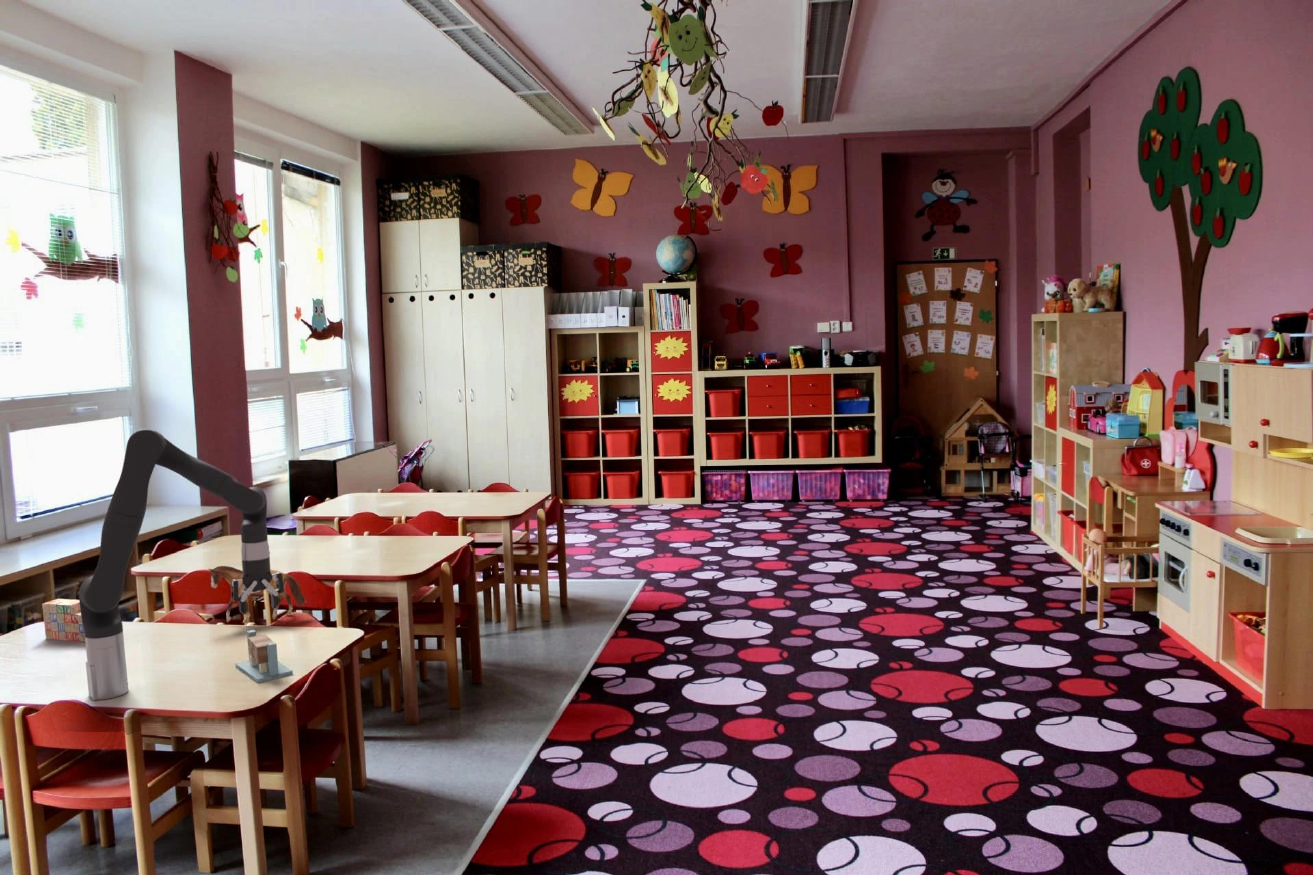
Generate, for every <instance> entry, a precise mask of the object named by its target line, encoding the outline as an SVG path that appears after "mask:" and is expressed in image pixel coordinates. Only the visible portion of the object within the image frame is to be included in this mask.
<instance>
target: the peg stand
mask: <svg viewBox="0 0 1313 875" xmlns="http://www.w3.org/2000/svg"><path fill="white" fill-rule="evenodd" d="M253 636H257V631H256V630H254V629H250V630H247V631H246V638H247V640H248V637H253ZM247 647H248V649H247V650H248V652H247V653H248V660H245V661H241V662H237V663H235V665H234V666H235V668H236V669H238V670H239V671H240V672H242V673H244V675H246V676H247V677H249V679H252V680H253V681H254V682H256V683H263V682H266V681H270V680H275V679H278V678H283V677H287V676H290V675H293V674H294V672H293V670H292V669H291V668H289V667H287V666H286V665H285V664H284V663H281V662H280V661H278V648H277V642H275V641H273V642H272V643H268V644H267V652H268V663H263V664H258V663H257V662H256V661H255V660H254V659H253V658H252V656H251V655H250V654H249V645H248V644H247Z"/></svg>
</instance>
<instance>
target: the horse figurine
mask: <svg viewBox="0 0 1313 875" xmlns="http://www.w3.org/2000/svg"><path fill="white" fill-rule="evenodd" d="M207 570H209V571H210V572H209V573H210V579H211V582H210V584H211V585H210V586H211V588H213V589H216V588H217V587H218V584H219V582H220V581H221V580H222V579H224V580H225V581H226V582H227V583H228V585H229V586H231V581H232V579H235V580H239V579H242V577H243V571H242V570H241V569H238V568H235V567H233V566H228V565H227V566H226V565H220V566H218V565H217V566H216V567H214V568H207ZM270 572H271V574H274V573H276V572H280V573H282V577H283V585H284V592H283V593H280V594H278V606H276V608H275V609H273V610H272V619H273V620H275V619H276V618H277V616H278V613H277V612H278V610H279V607H280V605H281V603H282V602H283V601H284V599H285V601H286V602H287V604H288V611H287V612H286V614H285V615H286V616H289V615H288V614H291V613H292V614H293V609H294V607H293V605H292V599H291V598H292V597H291V595H292V596H293V599H294V601H295V603H296V604H297V605H298V607H299V608H301V607H302V606H304V604H306V603H308V601H307V600H306V599H305V597H304V595H303V592H302V589H301V585H300V583H299V582H298V580H297V579H296V578H295V577H293V576H292V575H289V574H288V573H284V572H282V571H279V570H275V569H270ZM287 583H288V584H289V590H290V593H291V595H289V594H288V592H287V591H286V584H287ZM269 584H270V585H271V586H272V587H273V588H274V589H275V590H276V589H277V585H276V580H274V578H272V580H271V582H270V583H269ZM244 587H245V585H244V584H243V583H241V585H240V587H238V596H240V594H241V592H242V590H243V588H244ZM265 590H266V592H267V593H268V594H269V595H270V596H271V595H272V594H271V593H270V592H269V591H268V590H267V589H265ZM260 592H261V591H260V590H259V591H257V592H252V591H251V593H250V594H256V593H260ZM235 602H236V601H234V600H232V599H231V598H230V601H229V602H228V604H227V609H226V614H225V615H226V623H229V622H230V621H231V620H232V617H231V616H230V613H231V608H232V607H233V605H234V603H235ZM245 602H246V616H245V618H244V619H243V621H242V624H246V623H248V622H249V618H250V617H251V613H250V610H249V604H248V599H247V598H246V600H245ZM292 614H291V615H292Z"/></svg>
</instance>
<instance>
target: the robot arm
mask: <svg viewBox="0 0 1313 875" xmlns="http://www.w3.org/2000/svg"><path fill="white" fill-rule="evenodd" d="M156 465H157V466H158V467H162V468H165V469H168V470H169V471H171V472H174V473H175V474H178V475H180V476H181V477H183V478H184V479H186V480H187V481H189V482H190V483H192V484H193V485H196V487H198V488H200V489H202V490H204V491H206V492H208V493H210V494H211V495H213V496H215V497H217V498H220V499H222V500H223V501H224V502H226V503H227V504H229V505H230V506H231V507H233V508H235V509H236V510H238V511H239V512H241V513H242V514H241V515H242V517H241V518H242V523H241V524H240V525H241V526H240V537H241V538H240V539H241V547H240V548H241V549H240V552H241V553H240V554H241V567H242V570H241V571H243V577H242V579H239V580H235V579H232V581H231V585H230V593H231V596H230V600H231V599H232V600H234V601H235V602H238V608H239V613H241V614H242V615H247V612H246V602H245V600H246V599H247V598H248V596H250V594H252V593H251V591H252V592H256V593H258V592H257V591H259V590H260V592H263V591H265V590H266V589H267V590H268V591H269V592H270V593H271V594H272V595H270V602H271V605H270V606H271V609H273V610H274V609H275V608H276V606H278V594H280V593H283V592H284V585H283V577H282V573H283V572H282V573H280V572H281V571H279V572H276V573H274V574H271V572H270V570H271V558H270V557H271V555H270V554H271V551H270V545H269V542H268V541H269V540H268V538H269V537H268V528H267V527H268V526H267V516H268V514H267V513H268V512H267V511H268V500H267V495H266V493H265V492H264V490H263V489H261V488H260V487H257V486H251V487H248V486H246V485H245V484H242V483H241V482H239V481H238V480H237V479H236V478H235V477H234V476H232V475H231V474H229V473H227V472H225V471H223V469H220V468H218V467H216V466H214V465H212V464H210V463H208V462H205V461H203V460H201V459H199V458H197V457H195V456H192V455H191V454H189V453H187V452H186V451H184V450H183V449H181V448H179V447H178V446H176V445H175V444H173V443H172V442H171V441H170V440H168V439H167V438H166V437H165V436H163V435H162V433H160V432H158V431H157V430H153V429H150V428H149V429H148V428H141V429H139V430H136V431H134V432H133V433H132V434H131V435H130V437H128V440H127V443H126V448H125V454H124V459H123V463H122V469H121V471H120V472H121V473H120V475H119V476H120V477H119V479H118V482H117V484H116V487H115V488H114V491H113V494H112V496H111V499H110V502H109V504H108V507H107V511H106V514H105V518H104V520H103V524H102V529H101V536H100V547H99V548H100V550H99V557H98V562H97V566H96V567H95V570H94V574H93V575H91V576H90V577H87V578H86V579H85V580H83V582H82V583H81V585H80V587H79V591H78V598H79V599H78V600H79V601H80V609H81V618H82V624H83V628H84V633H85V642H84V643H85V652H86V653H85V654H86V660H87V661H86V662H85V669H86V678H87V680H86V681H87V689H88V696H89V697H90V698H91V700H92V701H97V700H99V701H100V700H107V699H113V698H117V697H120V696H123V695H124V694H126V693H128V691H129V682H128V671H127V670H128V669H127V661H126V660H127V659H126V658H127V657H126V650H125V649H126V648H125V636H124V629H123V628H124V627H123V621H122V618H121V614H120V610H119V603H120V601H121V599H122V597H123V592H124V586H125V579H126V575H127V569H128V565H129V562H130V559H131V557H132V555H133V551H134V549H135V547H136V543H137V540H138V537H139V534H140V532H141V529H142V526H143V522H144V519H145V516H146V510H147V505H148V504H147V503H148V497H149V496H148V494H149V484H150V481H151V477H152V475H153V471H154V469H155V467H156ZM272 578H274V580H276V585H277V589H276V590H275V589H274V588H273V587H272V586H271V585H270V584H269V583H270V582H271V580H272ZM241 583H243V584H244V585H245V587H244V588H243V590H242V592H241V594H240V596H238V587H240V585H241ZM267 590H266V591H267ZM270 593H269V594H270ZM280 595H281V594H280Z"/></svg>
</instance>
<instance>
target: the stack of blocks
mask: <svg viewBox="0 0 1313 875" xmlns="http://www.w3.org/2000/svg"><path fill="white" fill-rule="evenodd" d="M41 607H42V617H43V622H44V623H43V624H44V632H45V633H44V635H45V639H48V640H56V641H58V640H59V641H70V642H83V643H85V633H84V628H83V624H82V618H81V609H80V601H79V599H66V598H56V599H53V600H50V601H46V602H44V603H42V604H41Z"/></svg>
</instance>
